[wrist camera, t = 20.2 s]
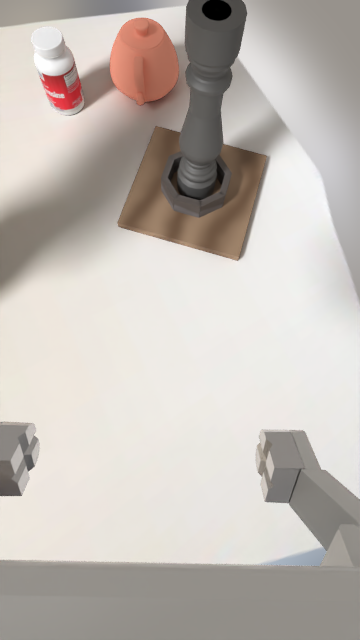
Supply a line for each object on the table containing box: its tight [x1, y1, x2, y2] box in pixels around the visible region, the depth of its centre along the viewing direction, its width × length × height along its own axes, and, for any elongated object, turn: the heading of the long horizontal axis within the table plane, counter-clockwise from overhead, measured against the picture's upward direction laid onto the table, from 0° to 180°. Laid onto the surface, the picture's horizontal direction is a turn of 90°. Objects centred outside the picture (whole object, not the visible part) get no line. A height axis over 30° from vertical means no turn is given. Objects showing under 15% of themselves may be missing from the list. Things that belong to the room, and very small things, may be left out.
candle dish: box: [118, 126, 267, 261], centre depth 54 cm, size 20×20×4 cm
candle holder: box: [177, 0, 247, 201], centre depth 43 cm, size 6×6×25 cm
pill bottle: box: [31, 26, 85, 115], centre depth 55 cm, size 6×6×11 cm
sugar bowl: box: [110, 18, 179, 105], centre depth 57 cm, size 12×14×10 cm
